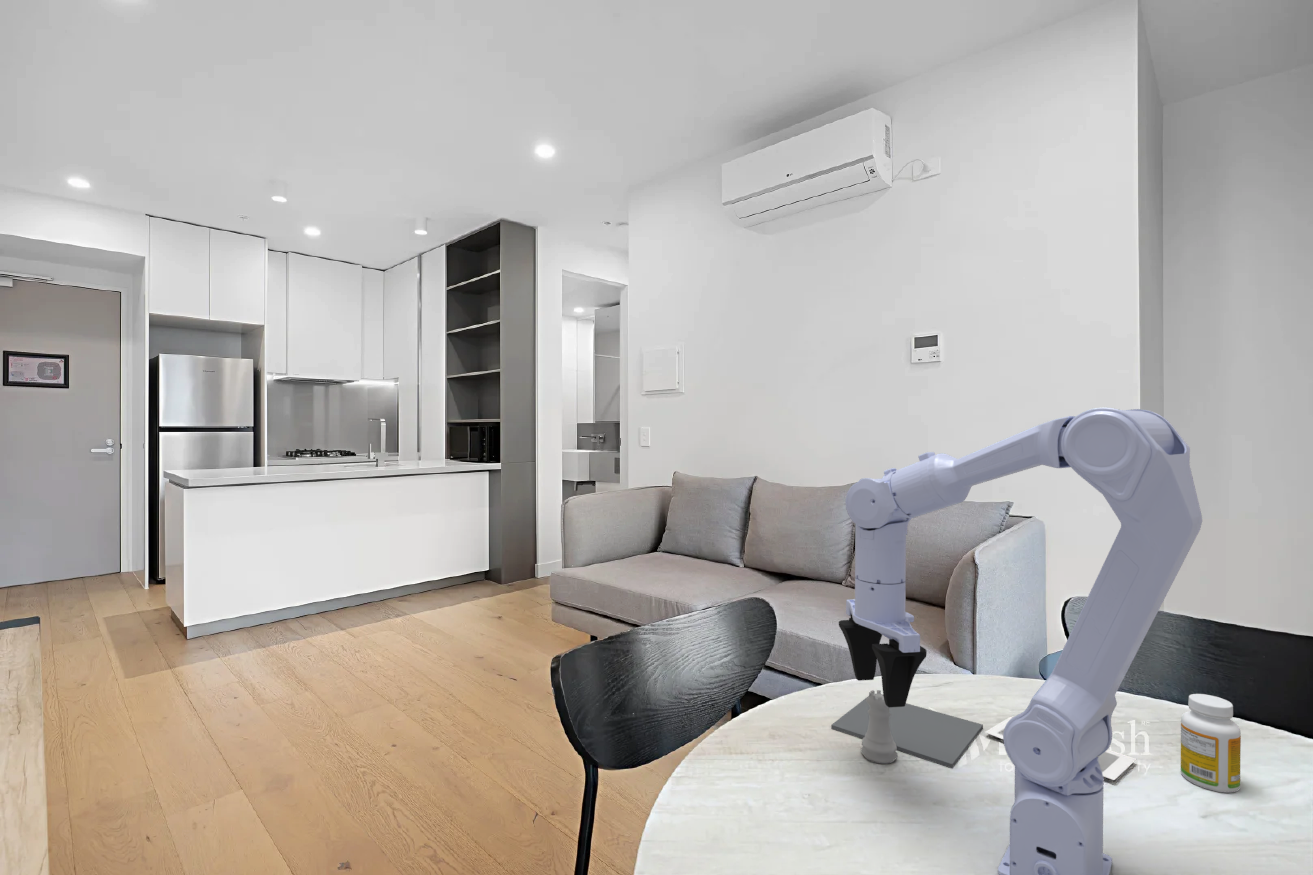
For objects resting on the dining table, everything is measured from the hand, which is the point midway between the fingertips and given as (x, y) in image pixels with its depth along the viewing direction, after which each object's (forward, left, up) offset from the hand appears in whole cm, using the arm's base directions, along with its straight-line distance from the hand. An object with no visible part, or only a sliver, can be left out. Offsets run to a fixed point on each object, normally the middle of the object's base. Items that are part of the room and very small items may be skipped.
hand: (879, 691), depth 77 cm
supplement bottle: (+25, -30, -11) cm, 41 cm away
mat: (+15, +2, -10) cm, 19 cm away
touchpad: (+22, -15, -11) cm, 29 cm away
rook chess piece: (+5, +2, -11) cm, 12 cm away
